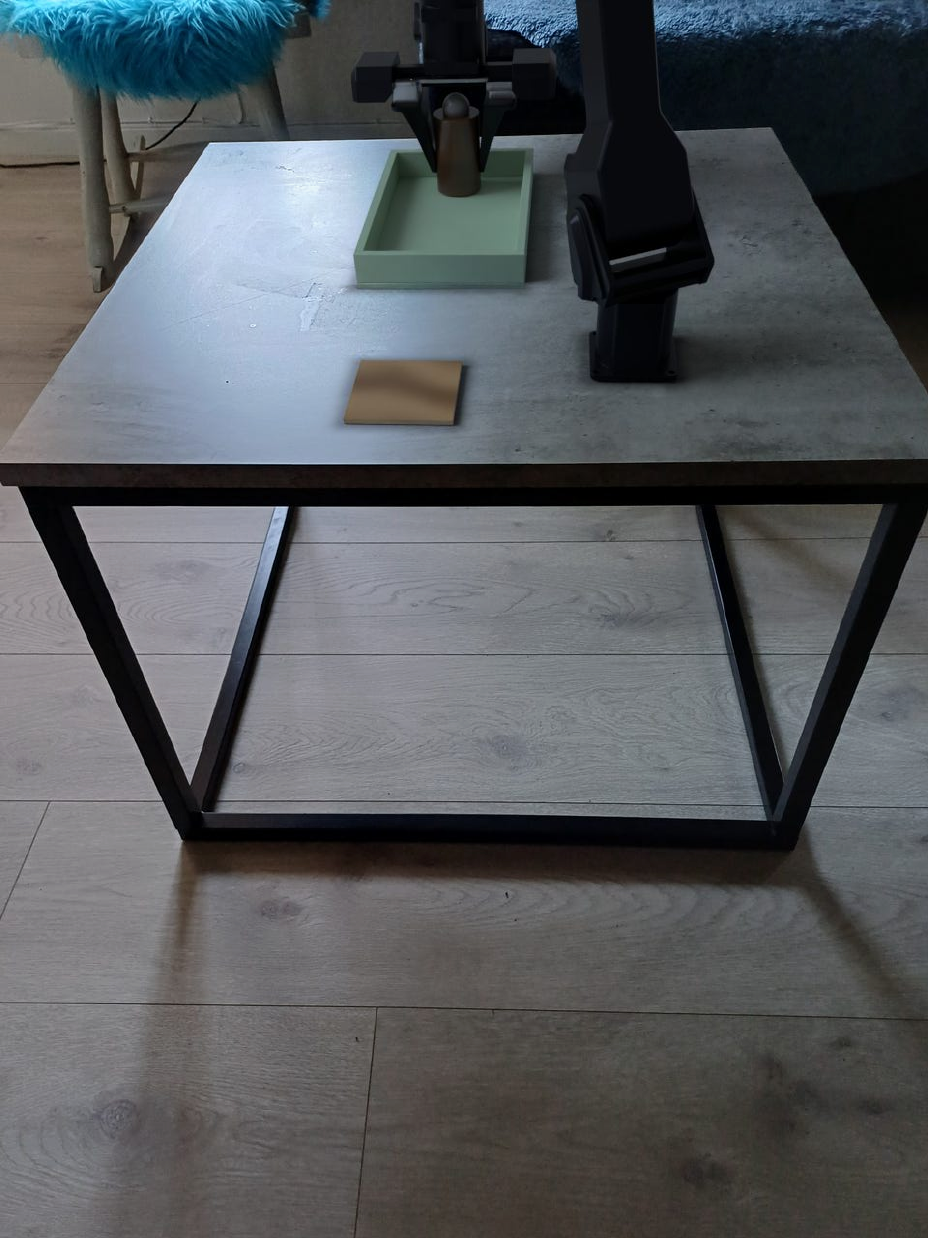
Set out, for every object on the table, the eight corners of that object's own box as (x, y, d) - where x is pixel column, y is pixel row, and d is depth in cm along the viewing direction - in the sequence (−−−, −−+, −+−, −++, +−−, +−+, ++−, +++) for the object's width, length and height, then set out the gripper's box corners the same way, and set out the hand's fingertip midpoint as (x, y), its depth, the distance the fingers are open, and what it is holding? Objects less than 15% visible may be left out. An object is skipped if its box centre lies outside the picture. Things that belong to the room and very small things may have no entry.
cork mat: (453, 425, 67) (453, 420, 67) (343, 423, 68) (342, 418, 67) (462, 364, 73) (462, 360, 72) (361, 364, 73) (360, 359, 73)
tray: (524, 289, 80) (524, 254, 78) (357, 288, 82) (352, 254, 80) (533, 178, 97) (533, 147, 94) (393, 180, 98) (390, 148, 96)
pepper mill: (479, 196, 92) (476, 100, 86) (435, 197, 93) (429, 101, 87) (482, 178, 96) (480, 84, 89) (439, 179, 96) (434, 85, 90)
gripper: (559, -40, 86) (554, 139, 98) (360, -34, 88) (378, 142, 99) (557, -8, 79) (552, 182, 90) (339, -2, 80) (361, 184, 92)
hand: (458, 171), depth 93 cm, fingers closed on pepper mill, 4 cm apart
